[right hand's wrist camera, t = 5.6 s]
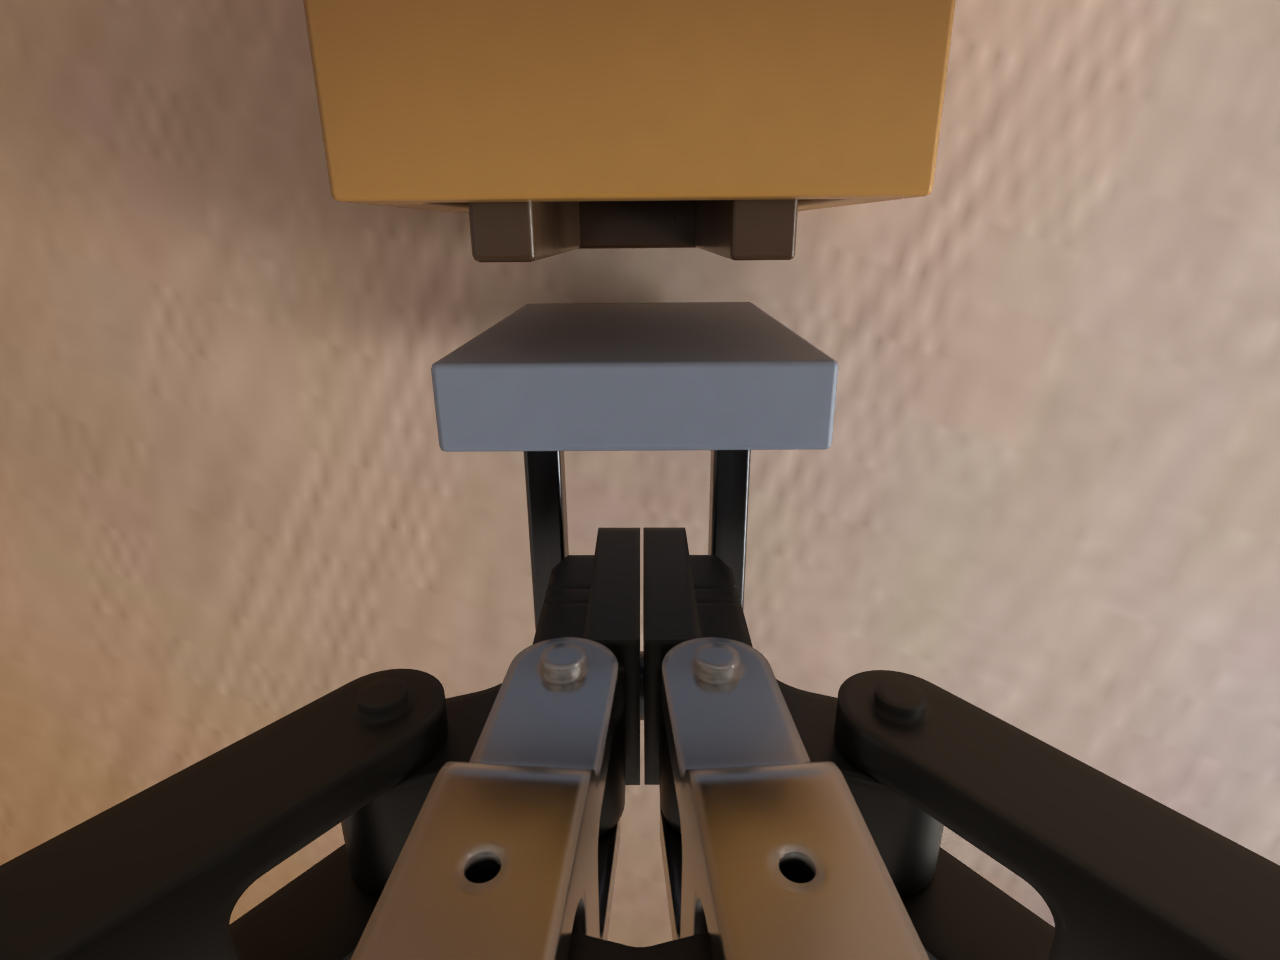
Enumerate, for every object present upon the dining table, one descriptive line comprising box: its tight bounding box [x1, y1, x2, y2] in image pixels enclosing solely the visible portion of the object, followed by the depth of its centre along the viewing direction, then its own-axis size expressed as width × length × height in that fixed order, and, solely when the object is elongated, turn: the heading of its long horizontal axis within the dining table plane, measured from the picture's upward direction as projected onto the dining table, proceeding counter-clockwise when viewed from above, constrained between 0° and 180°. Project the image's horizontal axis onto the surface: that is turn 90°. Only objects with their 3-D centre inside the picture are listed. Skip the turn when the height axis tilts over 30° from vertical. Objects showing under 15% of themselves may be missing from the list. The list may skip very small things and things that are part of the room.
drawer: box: [431, 199, 838, 720], centre depth 11 cm, size 24×5×8 cm, turn 0°
